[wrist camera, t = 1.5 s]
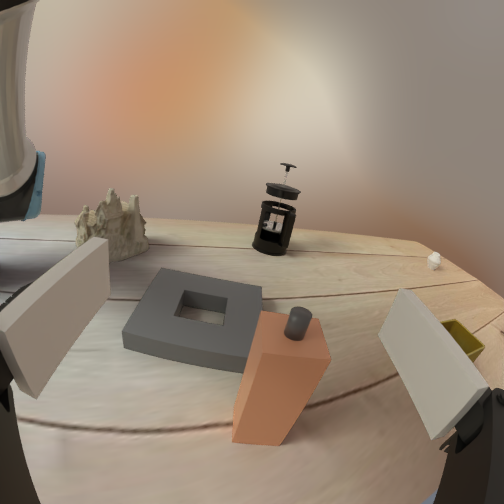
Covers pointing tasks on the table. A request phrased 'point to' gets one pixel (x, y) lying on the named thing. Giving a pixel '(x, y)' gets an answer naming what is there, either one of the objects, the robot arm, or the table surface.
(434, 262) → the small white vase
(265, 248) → the french press
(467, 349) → the flower pot
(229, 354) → the socket
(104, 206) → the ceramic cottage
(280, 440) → the plug
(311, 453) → the table surface
